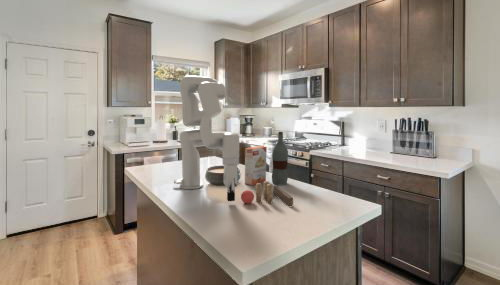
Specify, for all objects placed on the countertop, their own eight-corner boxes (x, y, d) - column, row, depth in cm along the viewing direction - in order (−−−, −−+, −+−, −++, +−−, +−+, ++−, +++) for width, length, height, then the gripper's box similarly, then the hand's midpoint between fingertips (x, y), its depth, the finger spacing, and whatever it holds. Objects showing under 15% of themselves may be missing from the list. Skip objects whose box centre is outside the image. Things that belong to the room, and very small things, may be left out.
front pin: (256, 202, 131) (257, 184, 130) (255, 200, 133) (255, 183, 132) (261, 202, 132) (262, 184, 131) (260, 200, 134) (260, 183, 133)
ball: (254, 192, 127) (254, 205, 127) (253, 188, 133) (253, 201, 133) (241, 192, 126) (240, 205, 127) (241, 188, 132) (240, 200, 133)
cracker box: (252, 185, 159) (253, 149, 156) (244, 184, 162) (244, 148, 160) (266, 180, 170) (267, 146, 167) (258, 179, 174) (258, 145, 171)
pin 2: (267, 203, 130) (268, 185, 129) (266, 201, 132) (266, 184, 131) (272, 203, 130) (273, 185, 129) (271, 201, 133) (271, 183, 132)
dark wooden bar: (288, 206, 126) (288, 198, 125) (273, 193, 145) (273, 186, 144) (292, 206, 126) (293, 197, 126) (277, 193, 145) (277, 185, 145)
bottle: (286, 181, 169) (287, 131, 166) (288, 185, 160) (290, 132, 157) (270, 181, 169) (271, 131, 165) (272, 185, 160) (273, 132, 156)
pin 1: (264, 200, 135) (264, 182, 134) (263, 198, 137) (263, 181, 136) (269, 199, 135) (269, 182, 134) (267, 198, 138) (267, 181, 136)
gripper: (220, 158, 133) (220, 196, 135) (225, 164, 119) (225, 206, 121) (235, 157, 135) (235, 195, 137) (242, 163, 120) (242, 205, 123)
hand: (231, 200), depth 129 cm, fingers closed
